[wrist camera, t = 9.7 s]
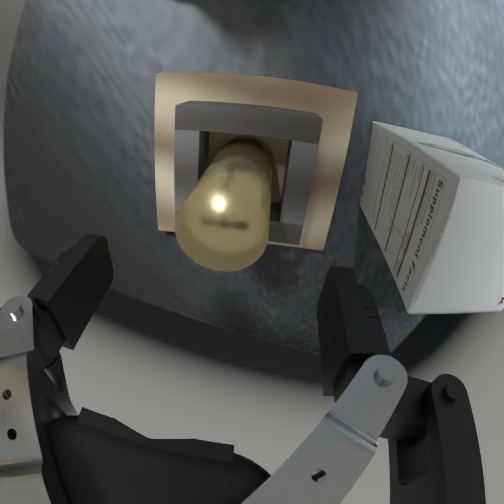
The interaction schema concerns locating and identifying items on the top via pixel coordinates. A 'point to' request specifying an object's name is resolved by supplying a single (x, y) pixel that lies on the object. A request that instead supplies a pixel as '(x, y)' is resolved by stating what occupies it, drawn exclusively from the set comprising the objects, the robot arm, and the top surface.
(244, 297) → the top surface
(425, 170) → the supplement box
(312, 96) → the socket board
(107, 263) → the robot arm
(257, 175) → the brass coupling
